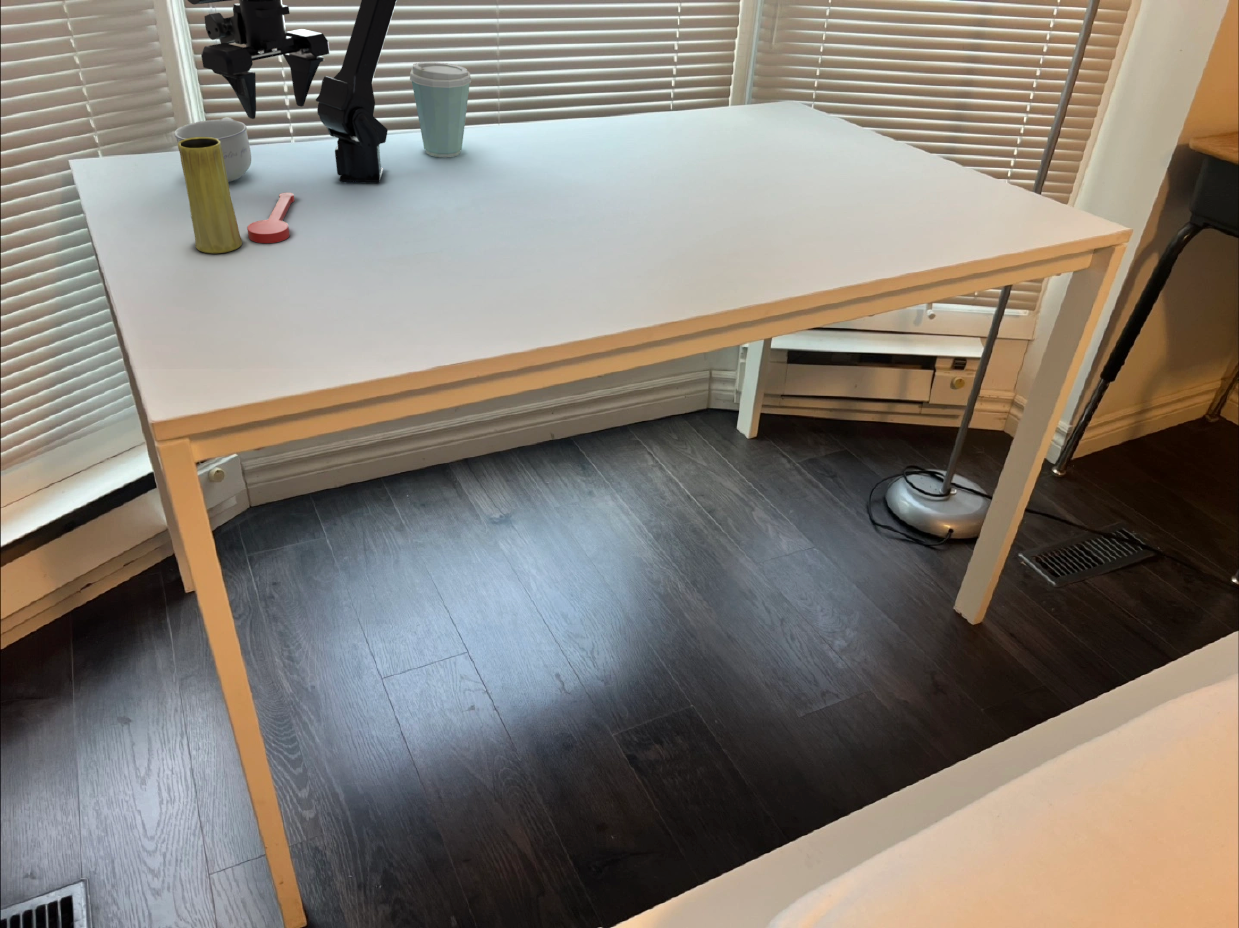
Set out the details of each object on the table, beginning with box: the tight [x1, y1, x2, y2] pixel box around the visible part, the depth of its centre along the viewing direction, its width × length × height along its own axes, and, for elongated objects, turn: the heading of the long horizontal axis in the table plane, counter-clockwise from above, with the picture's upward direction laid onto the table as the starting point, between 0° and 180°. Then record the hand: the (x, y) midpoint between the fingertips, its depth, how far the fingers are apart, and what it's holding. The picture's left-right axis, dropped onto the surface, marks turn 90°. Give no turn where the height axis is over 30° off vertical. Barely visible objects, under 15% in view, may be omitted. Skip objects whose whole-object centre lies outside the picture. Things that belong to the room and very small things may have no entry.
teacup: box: [173, 117, 252, 183], centre depth 154 cm, size 14×11×8 cm
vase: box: [177, 137, 243, 255], centre depth 129 cm, size 6×6×14 cm
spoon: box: [246, 191, 296, 244], centre depth 142 cm, size 6×18×1 cm, turn 6°
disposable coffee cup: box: [409, 61, 472, 158], centre depth 168 cm, size 11×11×15 cm
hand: (276, 111), depth 142 cm, fingers open, 9 cm apart
